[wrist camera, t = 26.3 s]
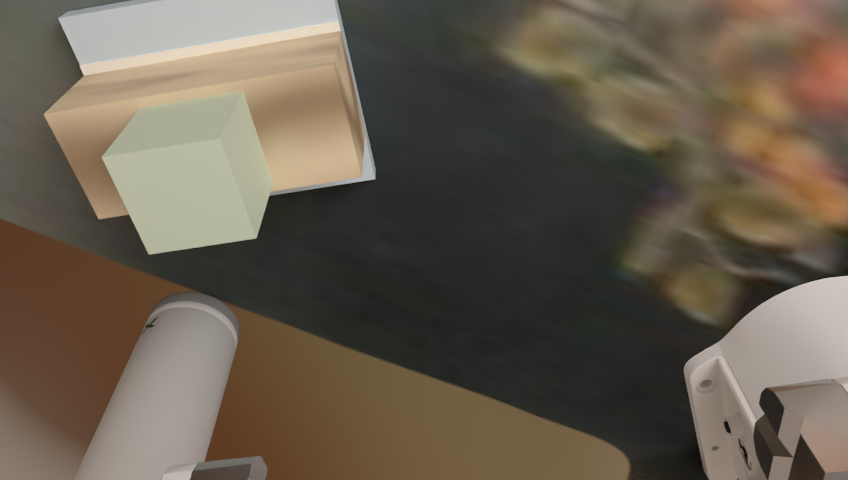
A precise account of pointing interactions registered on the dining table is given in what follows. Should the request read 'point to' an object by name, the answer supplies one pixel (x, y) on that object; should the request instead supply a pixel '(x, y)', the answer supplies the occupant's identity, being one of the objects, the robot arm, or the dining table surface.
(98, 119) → the oak brick
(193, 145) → the sage cube
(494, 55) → the dining table surface
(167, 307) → the travel mug
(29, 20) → the dining table surface
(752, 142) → the dining table surface
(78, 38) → the shallow white tray
